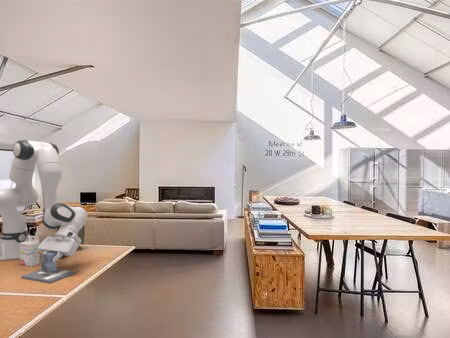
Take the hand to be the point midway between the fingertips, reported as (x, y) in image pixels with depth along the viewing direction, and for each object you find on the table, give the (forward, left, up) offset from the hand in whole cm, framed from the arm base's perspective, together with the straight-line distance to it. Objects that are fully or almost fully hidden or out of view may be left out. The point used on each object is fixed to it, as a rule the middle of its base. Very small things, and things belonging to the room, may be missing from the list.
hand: (47, 261), depth 145 cm
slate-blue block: (0, +1, -5) cm, 5 cm away
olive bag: (-28, +41, -7) cm, 50 cm away
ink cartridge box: (-24, +10, -7) cm, 27 cm away
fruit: (-20, +26, -7) cm, 33 cm away
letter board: (0, +1, -7) cm, 7 cm away
